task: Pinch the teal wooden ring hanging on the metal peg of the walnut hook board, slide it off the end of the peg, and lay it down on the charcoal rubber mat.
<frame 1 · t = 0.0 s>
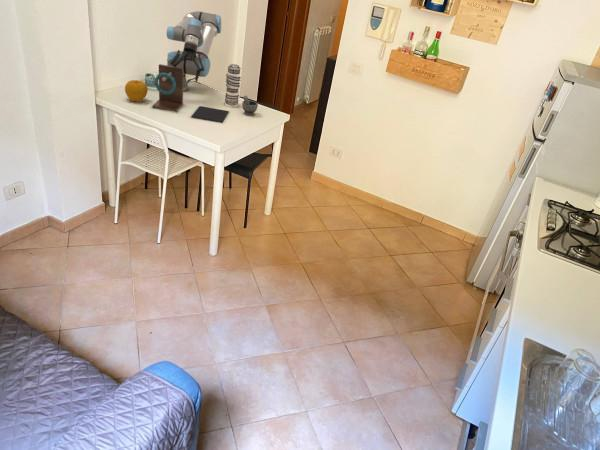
hand: (184, 79, 258), 15 cm above the table, tool tilted 35°, fingers open, 13 cm apart
mat: (210, 114, 258), on the table
decorative candle: (231, 105, 279), on the table
mortar and pestle: (248, 114, 270), on the table
apple: (137, 100, 259), on the table
hook board: (168, 106, 258), on the table
ring: (165, 83, 246), point 15 cm above the table, touching hook board
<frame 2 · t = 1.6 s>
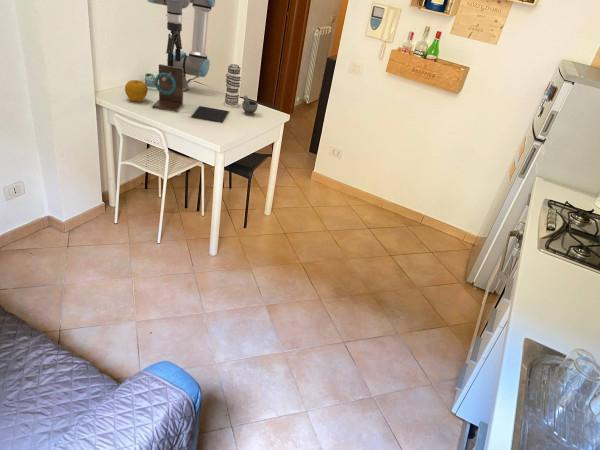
hand: (174, 63, 240), 27 cm above the table, tool pointing down, fingers open, 13 cm apart
nothing on the table moved.
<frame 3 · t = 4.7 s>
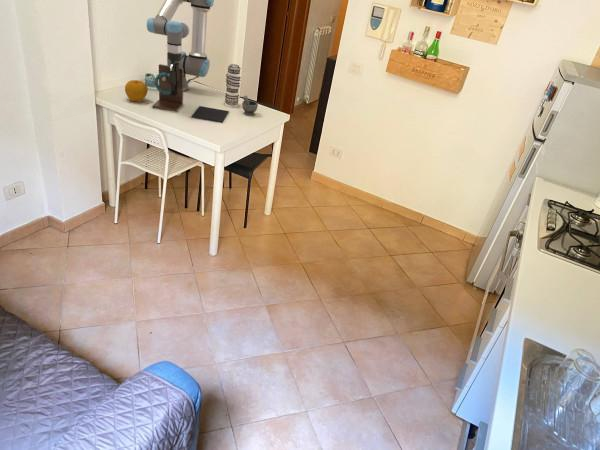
hand: (174, 94, 249), 9 cm above the table, tool pointing down, fingers closed on ring, 2 cm apart
ring: (165, 83, 246), point 15 cm above the table, touching gripper, hook board
everything else where it was.
when the fingers open (1 cm above the table, at t = 14.3 s): ring moves 4 cm and tips over, resting on mat.
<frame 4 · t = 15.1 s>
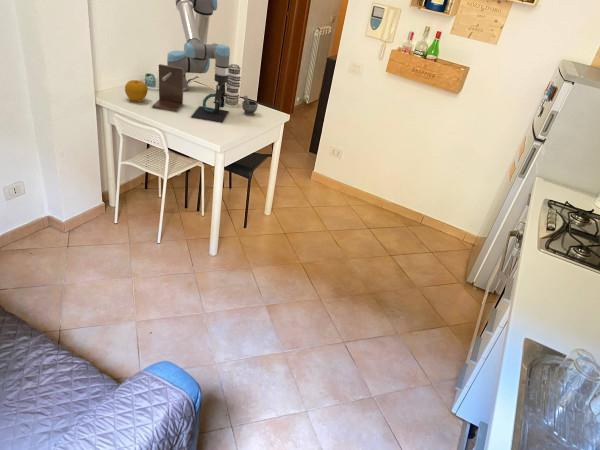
hand: (219, 110, 256), 3 cm above the table, tool pointing down, fingers open, 13 cm apart
ring: (211, 103, 258), point 6 cm above the table, tilted 42°, touching gripper, mat
everything else where it was.
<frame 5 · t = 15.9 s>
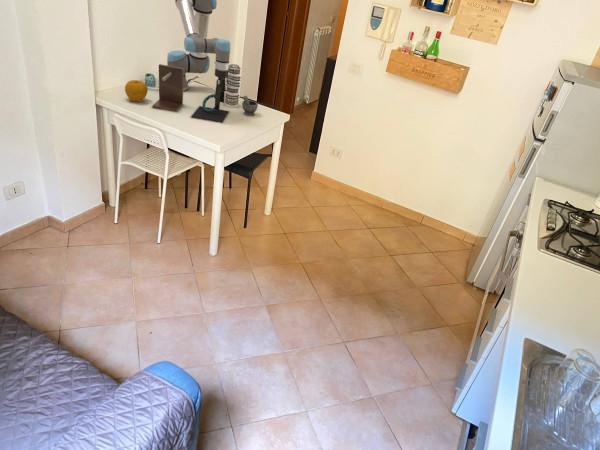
hand: (219, 105, 255), 6 cm above the table, tool pointing down, fingers open, 13 cm apart
ring: (211, 103, 259), point 6 cm above the table, tilted 53°, touching gripper, mat
everything else where it was.
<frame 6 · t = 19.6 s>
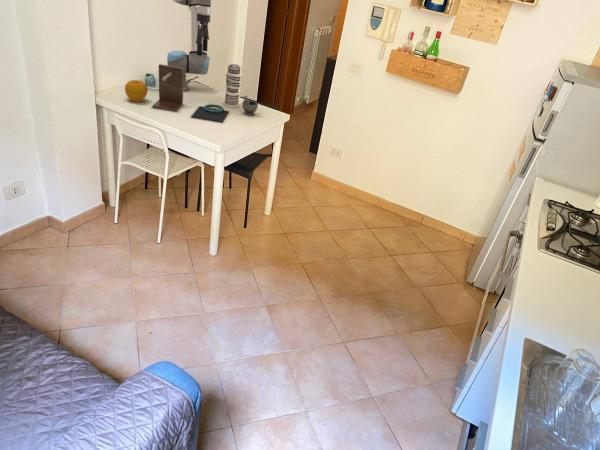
hand: (202, 53, 255), 31 cm above the table, tool pointing down, fingers open, 13 cm apart
ring: (213, 108, 263), point 2 cm above the table, tilted 90°, touching mat
everything else where it was.
at the end: ring inside the target area on the mat (7.0 cm from its centre), point 1.7 cm above the mat's base; ring touching mat; the gripper is holding nothing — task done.
